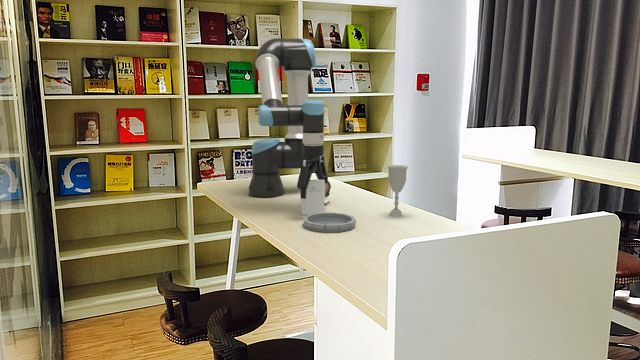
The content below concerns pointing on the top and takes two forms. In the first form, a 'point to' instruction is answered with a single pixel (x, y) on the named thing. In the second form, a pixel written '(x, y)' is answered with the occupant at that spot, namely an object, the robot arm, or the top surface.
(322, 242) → the top surface
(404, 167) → the chalice
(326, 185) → the eagle figurine
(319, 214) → the dish
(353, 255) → the top surface
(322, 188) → the external hard drive
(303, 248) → the top surface
